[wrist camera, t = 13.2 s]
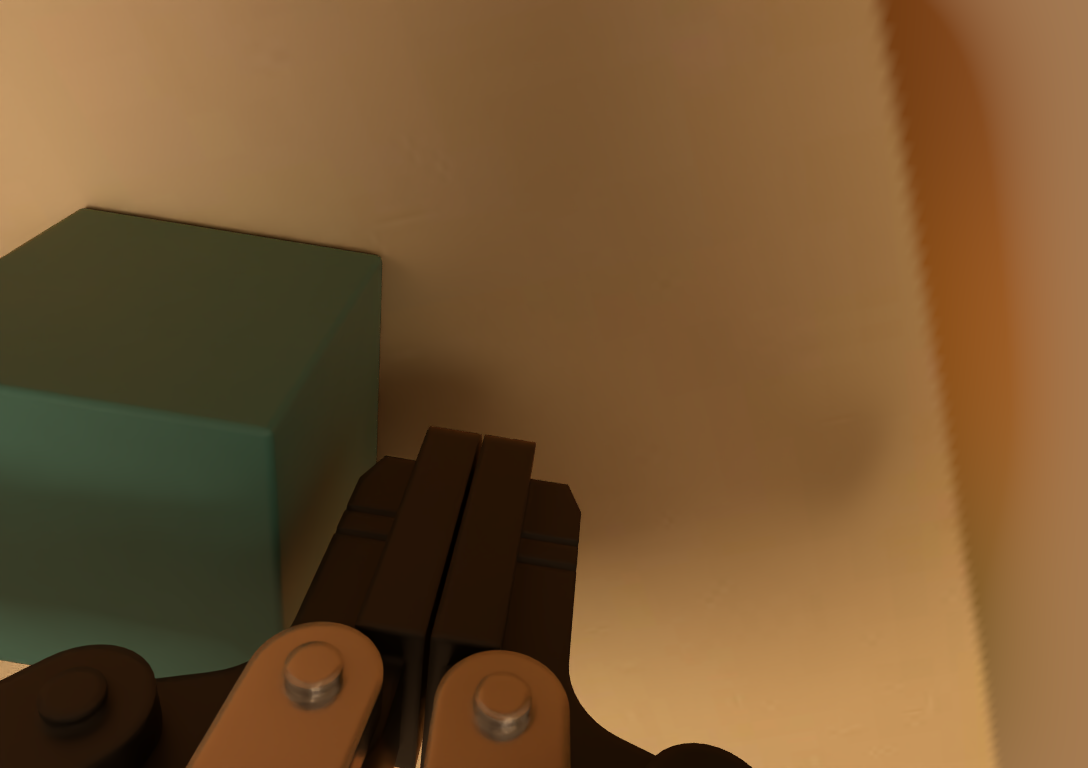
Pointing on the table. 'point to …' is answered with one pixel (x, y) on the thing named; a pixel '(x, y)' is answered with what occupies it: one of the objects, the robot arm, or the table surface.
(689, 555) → the table surface
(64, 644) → the teal block
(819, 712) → the table surface
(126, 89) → the table surface
